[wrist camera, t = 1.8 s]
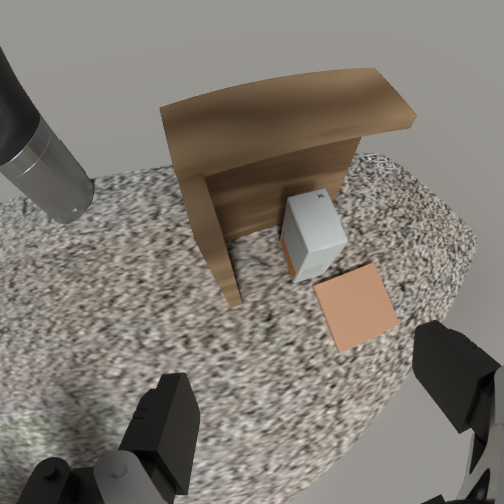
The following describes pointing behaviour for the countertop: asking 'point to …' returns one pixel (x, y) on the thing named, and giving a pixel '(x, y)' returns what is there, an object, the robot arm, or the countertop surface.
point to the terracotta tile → (355, 306)
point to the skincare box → (311, 234)
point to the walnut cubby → (270, 150)
